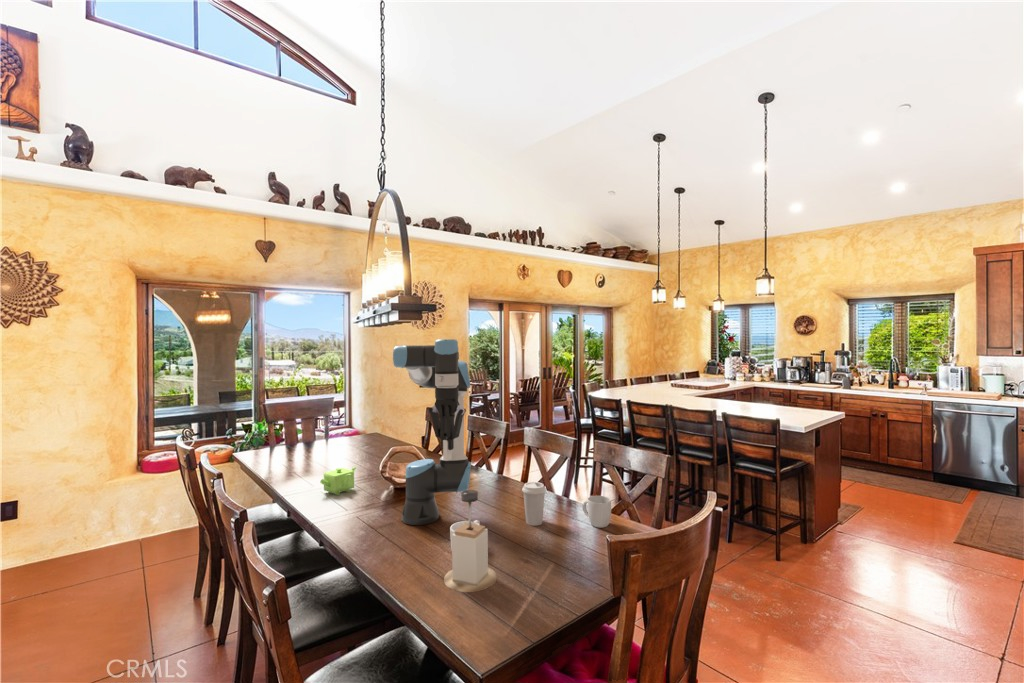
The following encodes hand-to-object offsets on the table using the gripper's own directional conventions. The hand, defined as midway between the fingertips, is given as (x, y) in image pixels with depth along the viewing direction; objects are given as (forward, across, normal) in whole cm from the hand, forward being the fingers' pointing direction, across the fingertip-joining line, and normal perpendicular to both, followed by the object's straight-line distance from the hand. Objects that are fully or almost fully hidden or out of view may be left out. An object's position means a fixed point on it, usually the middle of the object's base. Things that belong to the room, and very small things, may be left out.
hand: (447, 459), depth 151 cm
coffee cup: (+35, +13, +44) cm, 58 cm away
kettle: (+34, -87, +44) cm, 103 cm away
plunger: (+23, +11, -5) cm, 26 cm away
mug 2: (+35, +36, +52) cm, 72 cm away
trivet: (+35, +11, -5) cm, 37 cm away
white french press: (+34, +11, -5) cm, 36 cm away
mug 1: (+35, 0, +14) cm, 38 cm away
